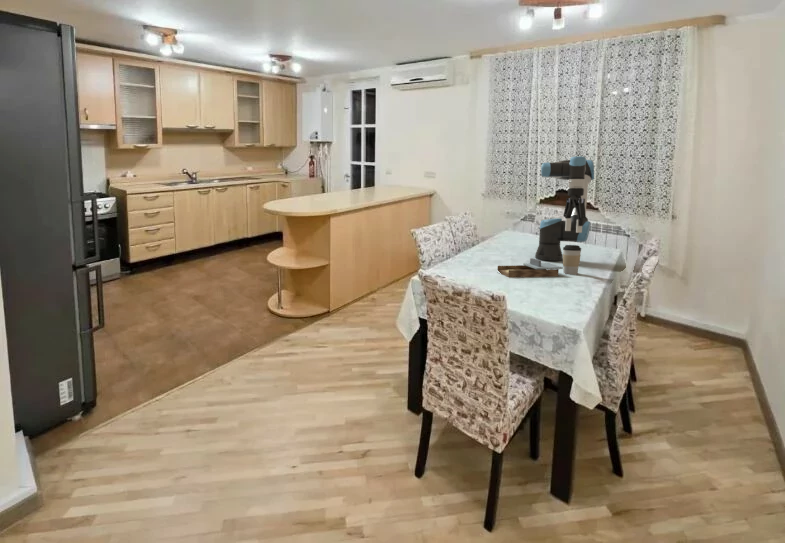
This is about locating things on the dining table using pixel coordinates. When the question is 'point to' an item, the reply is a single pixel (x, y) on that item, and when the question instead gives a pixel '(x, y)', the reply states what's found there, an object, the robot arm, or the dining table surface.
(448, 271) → the dining table surface
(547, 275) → the wooden tray
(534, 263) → the lid
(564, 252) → the coffee cup
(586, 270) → the dining table surface
